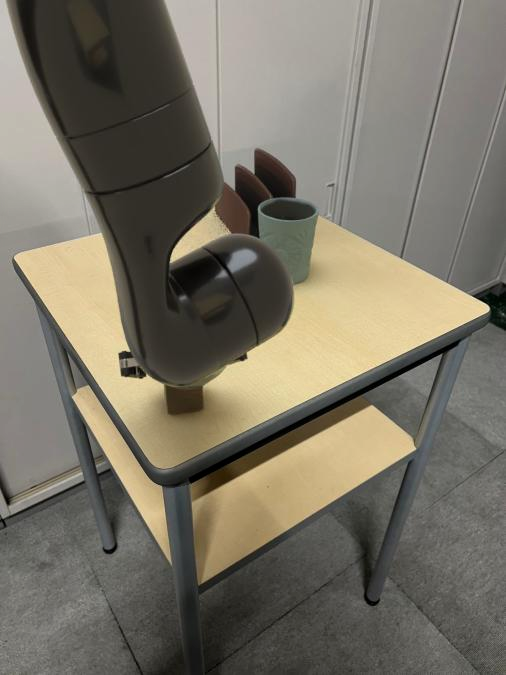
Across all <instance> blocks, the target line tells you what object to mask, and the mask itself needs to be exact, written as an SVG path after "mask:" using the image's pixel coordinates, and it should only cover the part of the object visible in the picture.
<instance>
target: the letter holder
mask: <svg viewBox="0 0 506 675" xmlns="http://www.w3.org/2000/svg"><path fill="white" fill-rule="evenodd" d="M253 171H254V172H252V171H251V170H249V169H248V168H247V167H245V166H244V165H241V164H239V163H236V164H235V166H234V188H233V187H231V185H229V184H228V183H227V182H226V181H224V189H223V193H222V196H221V198H220V200H219V202H218V203H217V204H216V206H215V207H214V212H215V214H216V215H217V216H218V217H219V219H220V220H221V222H223V223H224V225H225V226H226V227H227V228H228V229H229V231H230V232H231V234H237V233H241V234H248V235H252V236H255V237H257V238H259V239H260V235H259V221H258V206H259V205H260V204H261V203H262V202H264V201H266V200H270V199H274V198H297V179H296V177H295V175H294V174H293V173H292V171H291V170H290V169H289V168H288V167H287V166H286V165H284V163H283V162H282V161H280V160H279V159H278V158H276V157H275V156H274V155H272V154H271V153H269V152H267V151H265V150H264V149H261V148H259V147H256V148H254V151H253Z"/></svg>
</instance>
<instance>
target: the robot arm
mask: <svg viewBox="0 0 506 675" xmlns="http://www.w3.org/2000/svg"><path fill="white" fill-rule="evenodd" d="M5 4H6V8H7V12H8V16H9V20H10V23H11V27H12V31H13V34H14V38H15V41H16V45H17V48H18V51H19V54H20V58H21V60H22V63H23V66H24V70H25V72H26V74H27V77H28V79H29V82H30V85H31V87H32V89H33V92H34V94H35V96H36V99H37V101H38V103H39V105H40V107H41V110H42V112H43V115H44V116H45V118H46V120H47V122H48V125H49V126H50V128H51V131H52V133H53V135H54V136H55V139H56V141H57V143H58V144H59V147H60V149H61V151H62V153H63V154H64V156H65V159H66V160H67V163H68V165H69V166H70V168H71V170H72V172H73V174H74V176H75V178H76V180H77V183H78V184H79V186H80V188H81V190H83V193H84V195H85V198H86V199H87V200H86V201H88V203H89V205H90V208H91V211H92V212H93V215H94V217H95V219H96V222H97V224H98V228H99V230H100V233H101V236H102V239H103V242H104V244H105V249H106V252H107V255H108V259H109V260H108V261H109V263H110V267H111V272H112V277H113V282H114V288H115V293H116V295H115V296H116V300H117V306H118V307H117V308H118V313H119V318H120V322H121V323H120V324H121V327H122V330H123V334H124V339H125V342H126V344H127V347H128V349H129V351H128V350H122V351H120V352H118V355H117V356H118V364H119V371H120V377H123V378H132V379H139V380H141V379H144V378H147V376H148V377H150V378H151V380H154V381H155V382H158V383H159V384H162V385H163V384H164V385H168V386H170V387H173V388H176V389H181V390H191V389H196V388H199V387H202V386H203V387H204V386H206V385H208V384H209V383H210V382H212V381H213V380H215V379H216V378H218V377H219V376H220V375H221V374H222V373H223V372H224V371H225V369H226V368H227V367H228V366H230V365H234V364H236V363H240V362H245V361H246V360H248V359H249V358H248V353H249V352H251V351H252V350H254V349H255V348H258V347H260V346H261V345H262V344H265V343H266V342H267V341H269V340H271V339H272V338H274V337H275V336H278V334H280V333H281V332H283V330H284V329H285V328H286V327H287V325H288V324H289V322H290V320H291V317H292V315H293V313H294V312H293V311H294V307H295V287H294V284H293V281H292V277H291V274H290V271H289V269H288V267H287V265H286V263H285V261H284V260H283V258H282V257H281V256H280V254H279V253H278V252H277V251H276V250H275V249H274V248H273V247H272V246H271V245H269V244H268V243H267V242H265V241H263V240H261V239H259V238H257V237H255V236H252V235H248V234H241V233H237V234H233V233H230V234H225V235H222V236H219V237H217V238H215V239H212V240H210V241H209V242H208V243H205V244H203V245H201V246H200V247H198V248H195V249H194V250H192V251H191V252H188V253H186V254H185V255H182V256H181V257H179V258H176V259H175V260H173V261H171V259H172V254H173V252H174V250H175V248H176V247H177V245H178V244H179V243H180V241H181V240H182V239H183V238H184V237H185V236H186V234H188V232H190V231H191V230H192V229H193V228H194V227H195V226H196V225H197V224H198V223H200V222H201V221H202V220H203V219H205V217H206V216H207V215H208V214H209V213H210V212H211V211H212V210H213V209H215V206H216V204H217V203H218V202H219V200H220V198H221V196H222V193H223V189H224V182H225V178H224V174H223V169H222V165H221V162H220V159H219V155H218V152H217V150H216V147H215V143H214V140H213V139H212V135H211V131H210V129H209V126H208V122H207V120H206V117H205V113H204V111H203V107H202V104H201V103H200V102H201V101H200V99H199V96H198V93H197V90H196V88H195V85H194V81H193V79H192V74H191V72H190V70H189V67H188V63H187V61H186V58H185V55H184V51H183V50H182V46H181V44H180V41H179V37H178V35H177V32H176V29H175V26H174V23H173V21H172V17H171V15H170V11H169V9H168V6H167V3H166V0H5ZM164 385H163V386H164Z"/></svg>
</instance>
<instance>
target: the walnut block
mask: <svg viewBox="0 0 506 675" xmlns="http://www.w3.org/2000/svg"><path fill="white" fill-rule="evenodd" d="M162 385H163V392H164V399H165V405H166V411H167V415H176V414H183V413H189V412H195V411H202V410H204V409H205V404H204V401H205V400H204V386H202V387H199V388H196V389H191V390H181V389H176V388H173V387H170V386H168V385H164V384H162Z"/></svg>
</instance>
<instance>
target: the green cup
mask: <svg viewBox="0 0 506 675" xmlns="http://www.w3.org/2000/svg"><path fill="white" fill-rule="evenodd" d="M319 212H320V209H319V207H318V206H317V205H316V204H315V203H313V202H312V201H308V200H305V199H302V198H297V197H296V198H274V199H270V200H266V201H264V202H262V203H261V204H260V205H259V206H258V221H259V235H260V239H261V240H263V241H265V242H267V243H268V244H269V245H271V246H272V247H273V248H274V249H275V250H276V251H277V252H278V253H279V254H280V256H281V257H282V258H283V260H284V261H285V263H286V265H287V267H288V269H289V271H290V274H291V277H292V281H293V285H297V284H300V283H302V282H304V281H305V280H306V279H308V276H309V274H310V268H311V259H312V255H313V247H314V242H315V235H316V229H317V224H318V219H319Z"/></svg>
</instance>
